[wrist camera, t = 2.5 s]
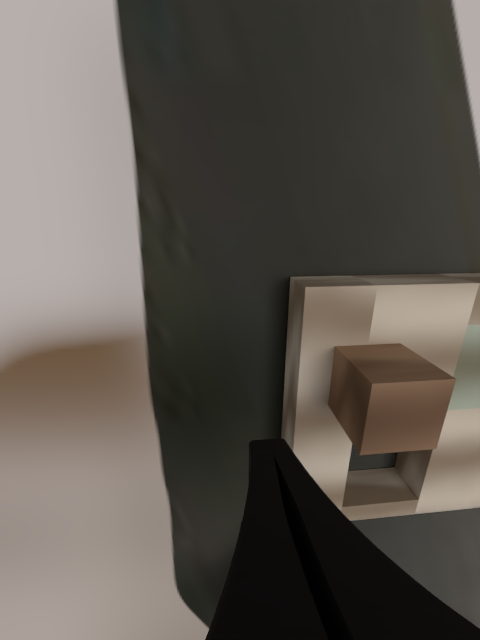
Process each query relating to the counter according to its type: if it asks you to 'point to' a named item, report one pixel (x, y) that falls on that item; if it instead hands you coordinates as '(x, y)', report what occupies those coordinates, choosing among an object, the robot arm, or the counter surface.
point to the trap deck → (385, 328)
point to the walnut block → (388, 398)
